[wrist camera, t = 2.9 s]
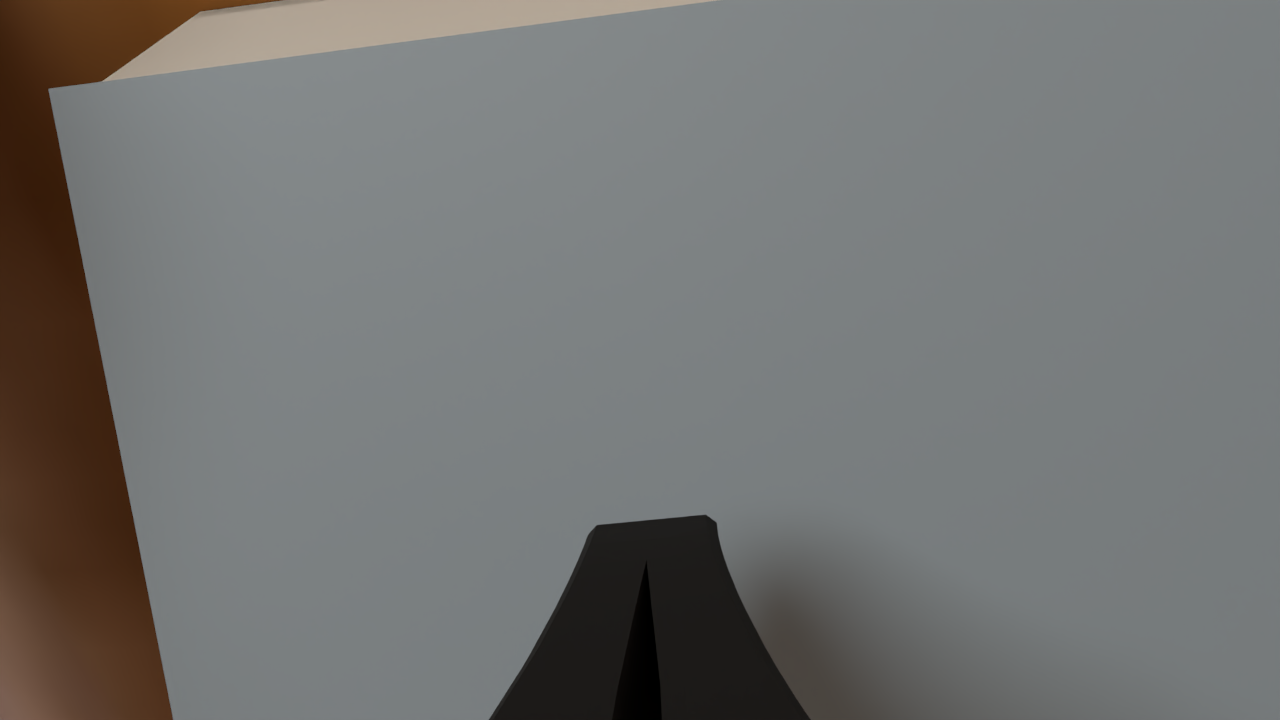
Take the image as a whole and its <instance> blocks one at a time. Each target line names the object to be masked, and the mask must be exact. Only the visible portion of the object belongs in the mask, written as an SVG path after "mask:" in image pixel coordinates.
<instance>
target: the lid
mask: <svg viewBox="0 0 1280 720" xmlns="http://www.w3.org/2000/svg"><path fill="white" fill-rule="evenodd" d="M48 90H49V95H50V100H51V105H52V110H53V115H54V120H55V125H56V130H57V135H58V140H59V145H60V150H61V155H62V160H63V165H64V170H65V175H66V181H67V186H68V191H69V196H70V201H71V206H72V211H73V216H74V221H75V226H76V231H77V236H78V241H79V246H80V251H81V256H82V261H83V266H84V271H85V276H86V281H87V287H88V292H89V297H90V302H91V307H92V312H93V317H94V322H95V327H96V332H97V337H98V342H99V347H100V352H101V357H102V362H103V367H104V372H105V377H106V382H107V388H108V393H109V398H110V403H111V408H112V413H113V418H114V423H115V428H116V433H117V438H118V443H119V448H120V453H121V458H122V463H123V468H124V473H125V478H126V483H127V489H128V494H129V499H130V504H131V509H132V514H133V519H134V524H135V529H136V534H137V539H138V544H139V549H140V554H141V559H142V564H143V569H144V574H145V579H146V584H147V590H148V595H149V600H150V605H151V610H152V615H153V620H154V625H155V630H156V635H157V640H158V645H159V650H160V655H161V660H162V665H163V670H164V675H165V680H166V685H167V690H168V696H169V701H170V706H171V711H172V716H173V720H489V718H490V717H491V716H492V714H493V712H494V711H495V709H496V708H497V706H498V705H499V703H500V701H501V700H502V698H503V697H504V695H505V694H506V692H507V690H508V689H509V687H510V686H511V684H512V683H513V681H514V679H515V678H516V676H517V675H518V673H519V672H520V670H521V668H522V667H523V665H524V663H525V662H526V660H527V658H528V657H529V655H530V653H531V651H532V650H533V648H534V646H535V644H536V642H537V640H538V639H539V637H540V635H541V633H542V631H543V629H544V628H545V626H546V624H547V622H548V620H549V619H550V617H551V615H552V613H553V611H554V609H555V607H556V605H557V603H558V601H559V599H560V597H561V595H562V593H563V591H564V589H565V587H566V585H567V583H568V581H569V579H570V577H571V575H572V572H573V570H574V568H575V566H576V563H577V561H578V559H579V556H580V554H581V552H582V549H583V547H584V544H585V542H586V539H587V536H588V534H589V533H590V532H591V531H592V530H593V529H594V528H595V526H596V525H602V524H612V523H623V522H633V521H644V520H654V519H665V518H675V517H686V516H696V515H707V516H708V517H710V518H711V519H713V520H714V521H715V522H717V528H718V537H719V541H720V545H721V549H722V552H723V556H724V559H725V561H726V564H727V567H728V570H729V572H730V575H731V577H732V580H733V582H734V585H735V587H736V590H737V592H738V594H739V596H740V599H741V601H742V603H743V605H744V607H745V609H746V611H747V613H748V615H749V617H750V619H751V621H752V623H753V625H754V627H755V628H756V630H757V632H758V634H759V636H760V638H761V640H762V642H763V644H764V646H765V648H766V649H767V651H768V653H769V654H770V656H771V658H772V660H773V661H774V663H775V665H776V667H777V668H778V670H779V672H780V673H781V675H782V676H783V678H784V680H785V681H786V683H787V684H788V686H789V688H790V689H791V691H792V692H793V694H794V695H795V697H796V699H797V700H798V702H799V703H800V705H801V706H802V708H803V709H804V711H805V712H806V714H807V715H808V716H809V718H810V719H811V720H1280V0H717V1H709V2H702V3H694V4H687V5H679V6H672V7H664V8H656V9H649V10H641V11H634V12H626V13H619V14H611V15H603V16H596V17H588V18H581V19H573V20H566V21H558V22H550V23H543V24H535V25H528V26H520V27H512V28H505V29H497V30H490V31H482V32H475V33H467V34H459V35H452V36H444V37H437V38H429V39H422V40H414V41H406V42H399V43H391V44H384V45H376V46H369V47H361V48H353V49H346V50H338V51H331V52H323V53H316V54H308V55H300V56H293V57H285V58H278V59H270V60H263V61H255V62H247V63H240V64H232V65H225V66H217V67H209V68H202V69H194V70H187V71H179V72H172V73H164V74H156V75H149V76H141V77H134V78H126V79H119V80H111V81H103V82H96V83H88V84H81V85H73V86H66V87H58V88H50V89H48Z"/></svg>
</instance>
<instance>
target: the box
mask: <svg viewBox="0 0 1280 720" xmlns="http://www.w3.org/2000/svg"><path fill="white" fill-rule="evenodd" d="M709 1H717V0H283V1H276V2H268V3H261V4H254V5H246V6H239V7H231V8H224V9H217V10H209V11H202V12H199V13H198V14H196V15H195V16H194V17H192V18H191V19H189V20H188V21H187V22H185V23H184V24H182V25H181V26H179V27H178V28H177V29H175V30H174V31H172V32H171V33H170V34H168V35H167V36H165V37H164V38H163V39H161V40H160V41H158V42H157V43H156V44H154V45H153V46H151V47H150V48H149V49H147V50H146V51H144V52H143V53H141V54H140V55H139V56H137V57H136V58H134V59H133V60H132V61H130V62H129V63H127V64H126V65H125V66H123V67H122V68H120V69H119V70H118V71H116V72H115V73H113V74H112V75H110V76H109V77H108V78H106V79H105V80H103V81H111V80H119V79H126V78H134V77H141V76H149V75H156V74H164V73H172V72H179V71H187V70H194V69H202V68H209V67H217V66H225V65H232V64H240V63H247V62H255V61H263V60H270V59H278V58H285V57H293V56H300V55H308V54H316V53H323V52H331V51H338V50H346V49H353V48H361V47H369V46H376V45H384V44H391V43H399V42H406V41H414V40H422V39H429V38H437V37H444V36H452V35H459V34H467V33H475V32H482V31H490V30H497V29H505V28H512V27H520V26H528V25H535V24H543V23H550V22H558V21H566V20H573V19H581V18H588V17H596V16H603V15H611V14H619V13H626V12H634V11H641V10H649V9H656V8H664V7H672V6H679V5H687V4H694V3H702V2H709ZM103 81H102V82H103Z"/></svg>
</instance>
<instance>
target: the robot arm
mask: <svg viewBox="0 0 1280 720" xmlns="http://www.w3.org/2000/svg"><path fill="white" fill-rule="evenodd" d="M489 720H811V719H810V718H809V716H808V715H807V714H806V712H805V711H804V709H803V708H802V706H801V705H800V703H799V702H798V700H797V699H796V697H795V695H794V694H793V692H792V691H791V689H790V688H789V686H788V684H787V683H786V681H785V680H784V678H783V676H782V675H781V673H780V672H779V670H778V668H777V667H776V665H775V663H774V661H773V660H772V658H771V656H770V654H769V653H768V651H767V649H766V648H765V646H764V644H763V642H762V640H761V638H760V636H759V634H758V632H757V630H756V628H755V627H754V625H753V623H752V621H751V619H750V617H749V615H748V613H747V611H746V609H745V607H744V605H743V603H742V601H741V599H740V596H739V594H738V592H737V590H736V587H735V585H734V582H733V580H732V577H731V575H730V572H729V570H728V567H727V564H726V561H725V559H724V556H723V552H722V549H721V545H720V541H719V537H718V528H717V522H715V521H714V520H713V519H711V518H710V517H708V516H707V515H696V516H686V517H675V518H665V519H654V520H644V521H633V522H623V523H612V524H602V525H596V526H595V528H594V529H593V530H592V531H591V532H590V533H589V534H588V536H587V539H586V542H585V544H584V547H583V549H582V552H581V554H580V556H579V559H578V561H577V563H576V566H575V568H574V570H573V572H572V575H571V577H570V579H569V581H568V583H567V585H566V587H565V589H564V591H563V593H562V595H561V597H560V599H559V601H558V603H557V605H556V607H555V609H554V611H553V613H552V615H551V617H550V619H549V620H548V622H547V624H546V626H545V628H544V629H543V631H542V633H541V635H540V637H539V639H538V640H537V642H536V644H535V646H534V648H533V650H532V651H531V653H530V655H529V657H528V658H527V660H526V662H525V663H524V665H523V667H522V668H521V670H520V672H519V673H518V675H517V676H516V678H515V679H514V681H513V683H512V684H511V686H510V687H509V689H508V690H507V692H506V694H505V695H504V697H503V698H502V700H501V701H500V703H499V705H498V706H497V708H496V709H495V711H494V712H493V714H492V716H491V717H490V718H489Z"/></svg>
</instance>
